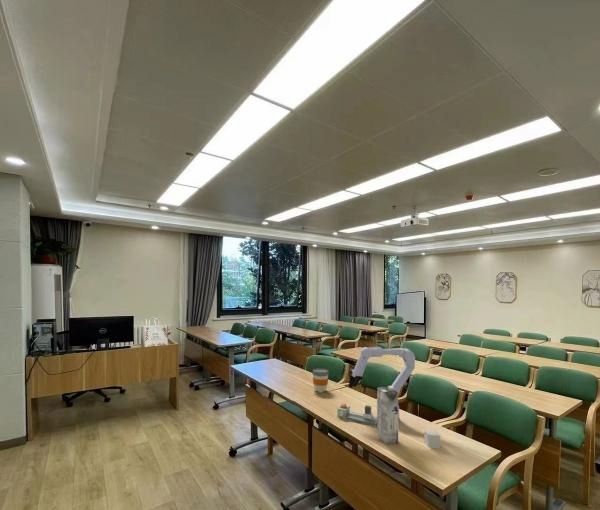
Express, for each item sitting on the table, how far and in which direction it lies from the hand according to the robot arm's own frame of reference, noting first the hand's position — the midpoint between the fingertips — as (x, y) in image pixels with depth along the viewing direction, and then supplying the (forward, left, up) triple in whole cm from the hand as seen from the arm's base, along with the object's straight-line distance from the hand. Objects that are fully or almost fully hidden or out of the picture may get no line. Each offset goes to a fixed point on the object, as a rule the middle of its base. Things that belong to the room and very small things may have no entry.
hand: (352, 386), depth 198 cm
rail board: (-7, +1, -18) cm, 19 cm away
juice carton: (-26, +19, -18) cm, 37 cm away
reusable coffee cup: (+39, -36, -18) cm, 56 cm away
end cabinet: (+5, +1, -18) cm, 19 cm away
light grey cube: (-47, +12, -18) cm, 52 cm away
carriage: (-10, +1, -16) cm, 19 cm away
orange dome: (+5, +1, -14) cm, 15 cm away
